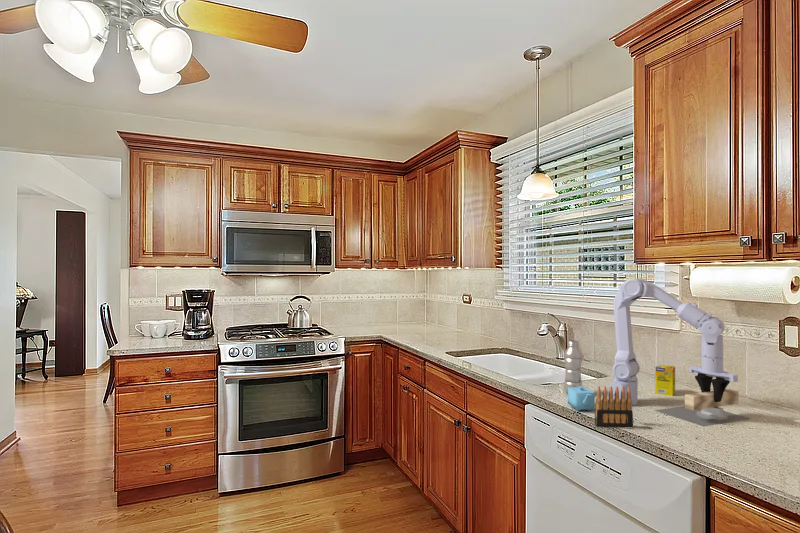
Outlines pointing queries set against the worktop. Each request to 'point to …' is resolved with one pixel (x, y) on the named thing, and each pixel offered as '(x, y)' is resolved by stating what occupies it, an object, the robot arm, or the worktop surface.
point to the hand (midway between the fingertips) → (712, 400)
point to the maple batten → (710, 399)
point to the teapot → (581, 398)
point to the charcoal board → (694, 418)
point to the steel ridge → (713, 414)
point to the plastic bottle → (572, 365)
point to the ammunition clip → (613, 409)
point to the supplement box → (665, 380)
